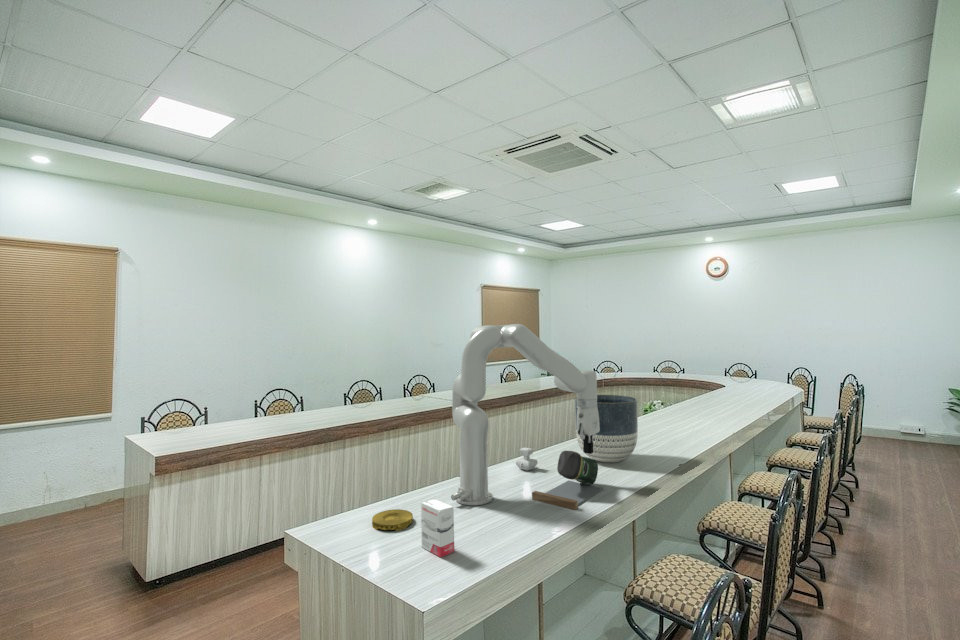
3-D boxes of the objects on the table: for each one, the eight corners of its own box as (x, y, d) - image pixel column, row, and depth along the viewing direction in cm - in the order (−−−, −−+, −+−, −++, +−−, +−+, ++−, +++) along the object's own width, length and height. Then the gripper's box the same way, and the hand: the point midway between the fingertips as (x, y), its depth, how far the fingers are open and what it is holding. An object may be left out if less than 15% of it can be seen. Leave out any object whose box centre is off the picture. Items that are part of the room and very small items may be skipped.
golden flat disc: (381, 515, 146) (381, 508, 146) (417, 517, 144) (417, 510, 144) (365, 531, 134) (365, 523, 134) (405, 533, 132) (405, 526, 132)
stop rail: (574, 510, 147) (574, 502, 147) (532, 499, 157) (532, 492, 157) (577, 508, 148) (577, 500, 148) (535, 497, 158) (535, 490, 158)
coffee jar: (581, 456, 177) (558, 446, 163) (600, 460, 172) (578, 450, 158) (576, 482, 173) (553, 474, 160) (596, 487, 168) (573, 479, 155)
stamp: (527, 473, 187) (526, 452, 187) (513, 470, 191) (513, 449, 191) (539, 468, 193) (539, 447, 194) (526, 465, 198) (526, 445, 198)
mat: (575, 507, 149) (575, 505, 149) (538, 498, 158) (538, 496, 158) (603, 489, 166) (603, 487, 166) (568, 482, 174) (568, 480, 174)
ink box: (455, 551, 120) (454, 505, 121) (440, 558, 117) (439, 511, 117) (435, 541, 126) (434, 497, 127) (420, 547, 123) (419, 502, 123)
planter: (564, 460, 205) (562, 399, 205) (598, 449, 223) (596, 393, 223) (617, 472, 185) (615, 405, 186) (650, 459, 203) (648, 398, 204)
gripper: (587, 407, 165) (588, 458, 164) (605, 401, 176) (606, 450, 176) (568, 405, 170) (569, 455, 169) (587, 400, 181) (588, 447, 181)
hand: (588, 452), depth 173 cm, fingers closed
